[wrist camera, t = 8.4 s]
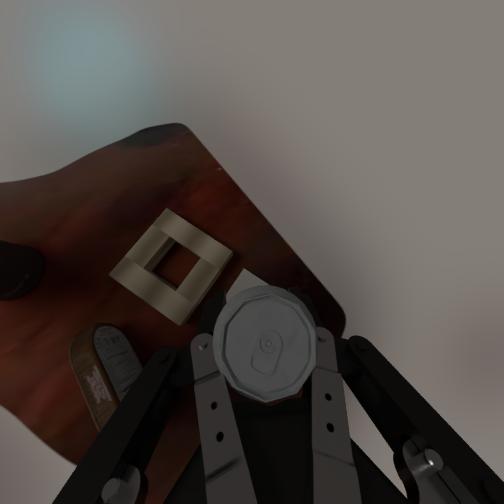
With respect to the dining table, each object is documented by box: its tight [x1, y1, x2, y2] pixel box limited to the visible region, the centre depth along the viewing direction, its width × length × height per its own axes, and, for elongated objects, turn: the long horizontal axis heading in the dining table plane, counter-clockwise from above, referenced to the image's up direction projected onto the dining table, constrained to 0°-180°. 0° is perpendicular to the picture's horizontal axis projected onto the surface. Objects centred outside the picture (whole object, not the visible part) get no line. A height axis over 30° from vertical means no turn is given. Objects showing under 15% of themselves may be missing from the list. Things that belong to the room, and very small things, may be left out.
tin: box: [68, 323, 143, 433], centre depth 24 cm, size 15×3×8 cm, turn 35°
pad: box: [226, 269, 268, 303], centre depth 31 cm, size 10×10×1 cm
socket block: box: [109, 208, 233, 326], centre depth 31 cm, size 14×14×3 cm
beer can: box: [213, 285, 319, 402], centre depth 13 cm, size 5×5×12 cm
